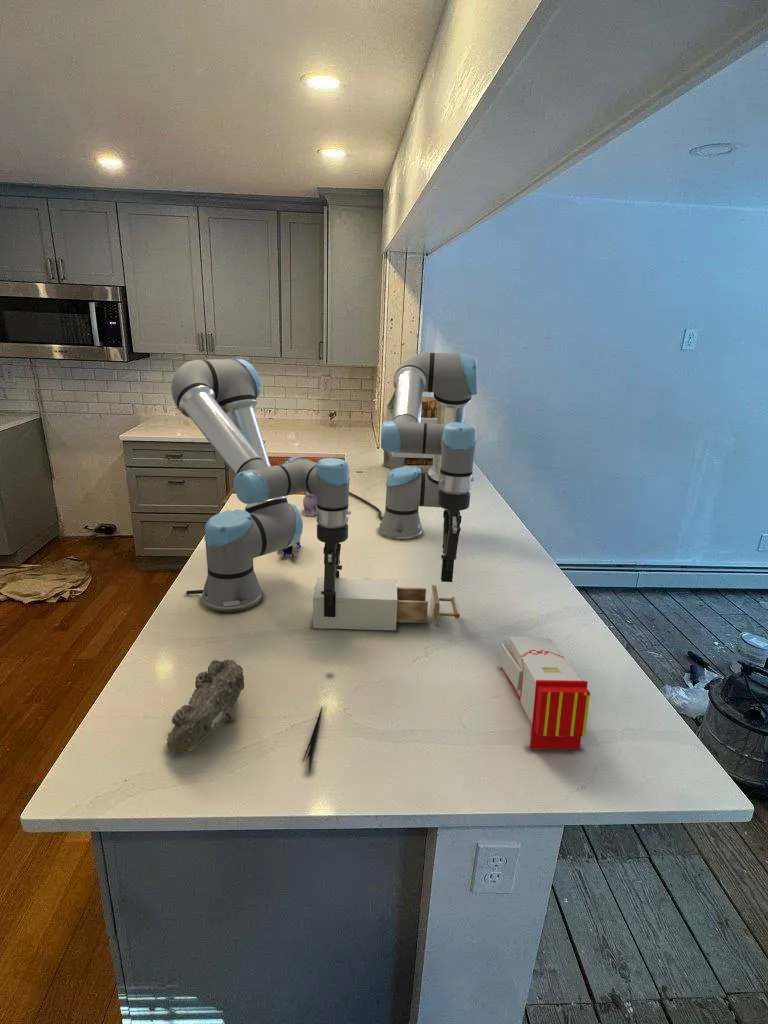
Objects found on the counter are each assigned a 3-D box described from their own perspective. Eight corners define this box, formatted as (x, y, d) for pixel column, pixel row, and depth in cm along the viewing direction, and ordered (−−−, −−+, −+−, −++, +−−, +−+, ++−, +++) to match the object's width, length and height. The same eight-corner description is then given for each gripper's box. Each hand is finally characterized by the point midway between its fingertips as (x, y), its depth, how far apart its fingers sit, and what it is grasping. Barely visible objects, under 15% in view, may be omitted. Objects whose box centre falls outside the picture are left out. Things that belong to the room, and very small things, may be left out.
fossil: (192, 660, 117) (244, 628, 112) (224, 691, 120) (276, 661, 115) (142, 746, 98) (202, 712, 93) (182, 779, 101) (242, 748, 96)
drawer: (455, 608, 149) (456, 585, 147) (459, 627, 140) (461, 604, 138) (362, 605, 149) (362, 583, 147) (360, 624, 140) (361, 601, 137)
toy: (546, 620, 128) (599, 688, 99) (541, 675, 131) (591, 756, 102) (493, 619, 128) (531, 687, 99) (489, 674, 131) (524, 755, 101)
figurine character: (298, 566, 175) (304, 542, 188) (297, 544, 171) (303, 521, 185) (276, 565, 174) (283, 541, 188) (275, 544, 171) (282, 521, 184)
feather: (331, 679, 122) (336, 673, 122) (307, 777, 96) (313, 769, 95) (324, 675, 122) (329, 669, 121) (298, 772, 95) (304, 764, 95)
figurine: (306, 518, 210) (306, 479, 205) (297, 509, 219) (297, 471, 214) (330, 515, 214) (330, 476, 209) (320, 506, 223) (320, 469, 218)
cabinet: (395, 608, 150) (396, 579, 147) (395, 630, 140) (397, 599, 137) (317, 606, 150) (317, 577, 147) (312, 628, 139) (312, 597, 136)
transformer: (382, 463, 289) (386, 382, 275) (445, 464, 293) (451, 384, 279) (390, 482, 257) (394, 392, 243) (460, 483, 261) (468, 394, 247)
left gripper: (344, 543, 125) (343, 629, 132) (351, 507, 147) (349, 583, 154) (310, 541, 125) (311, 628, 132) (322, 506, 147) (321, 582, 154)
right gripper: (474, 499, 127) (464, 593, 135) (466, 482, 139) (458, 569, 147) (441, 498, 127) (433, 592, 135) (436, 481, 139) (429, 568, 147)
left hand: (331, 604), depth 143 cm, fingers closed on cabinet, 11 cm apart
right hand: (446, 580), depth 141 cm, fingers closed
